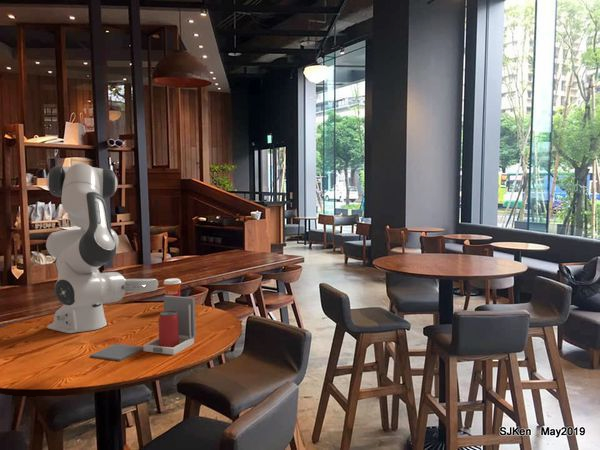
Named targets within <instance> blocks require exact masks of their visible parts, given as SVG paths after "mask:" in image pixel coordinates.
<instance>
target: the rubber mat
mask: <svg viewBox="0 0 600 450" xmlns="http://www.w3.org/2000/svg"><path fill="white" fill-rule="evenodd" d="M142 351H143V346H137V345H132V344H131V345H130V344H129V345H128V344H120V343H115V344H112V345H110V346H107V347H106V348H103V349H100V350H99V351H96V352H95V353H91V354H90V355H89V358H97V359H103V360H109V361H116V360H117V361H118V362H121V361H123V360H125V359H127V358H129V357H131V356H134V355H136V354H137V353H140V352H142Z"/></svg>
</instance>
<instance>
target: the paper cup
mask: <svg viewBox="0 0 600 450" xmlns="http://www.w3.org/2000/svg"><path fill="white" fill-rule="evenodd" d="M181 283H182V281H181V279H180V278H166V279H164V281H163V287H164V296H178V297H181Z"/></svg>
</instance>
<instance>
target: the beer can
mask: <svg viewBox="0 0 600 450" xmlns="http://www.w3.org/2000/svg"><path fill="white" fill-rule="evenodd" d="M176 313H177V312H175V311H164V310H163V311H161V312H160V313H159V316H158V321H157V323H158V338H159V345H158V346H163V347H172V348H173V347H175V346H177V345H179V344H180V343H179V326H178V316H177V314H176Z"/></svg>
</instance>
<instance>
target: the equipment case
mask: <svg viewBox="0 0 600 450" xmlns="http://www.w3.org/2000/svg"><path fill="white" fill-rule="evenodd" d="M195 300H196V298H195V297H190V296H189V297H187V296H180V297H178V296H165V295H163V312H164V311H175V312H177V313H176V314H177V316H178V326H179V345H177V346H175V347H173V348H172V347H163V346H159V337H158V338H155V339H153V340H151V341H149V342H147V343H145V344H143V346H142V347H143V350H142V351H143V352H148V353H149V352H150V353H156V354H163V355H164V354H165V355H172V356H175V355H176V354H179V353H180V352H182V351H183V350H186V349H188V348H189V347H190V346H192V345H194V344H195V339H196V338H197V333H196V332H197V330H196V329H197V327H196V301H195Z"/></svg>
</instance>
